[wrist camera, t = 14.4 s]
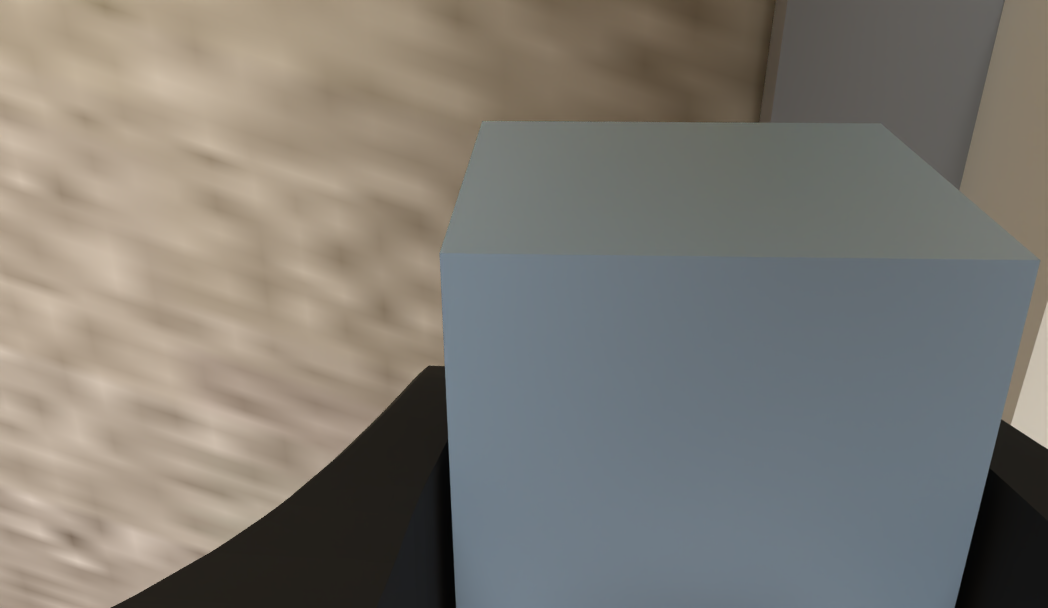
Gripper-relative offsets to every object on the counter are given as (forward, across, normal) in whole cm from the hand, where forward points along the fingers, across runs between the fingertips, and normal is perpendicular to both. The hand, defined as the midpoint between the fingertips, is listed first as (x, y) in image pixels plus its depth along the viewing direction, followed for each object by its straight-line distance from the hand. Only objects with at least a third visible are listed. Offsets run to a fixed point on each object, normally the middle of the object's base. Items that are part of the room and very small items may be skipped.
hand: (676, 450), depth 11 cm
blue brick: (+2, 0, 0) cm, 2 cm away
